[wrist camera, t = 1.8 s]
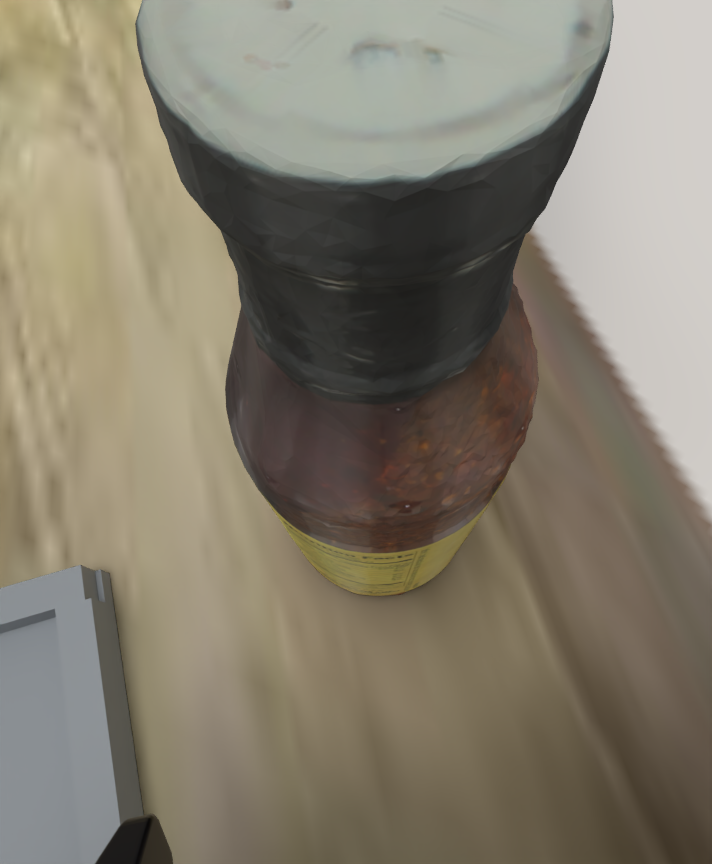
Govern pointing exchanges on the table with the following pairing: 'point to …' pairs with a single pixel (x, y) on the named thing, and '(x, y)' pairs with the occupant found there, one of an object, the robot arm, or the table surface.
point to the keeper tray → (63, 721)
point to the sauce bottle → (376, 246)
